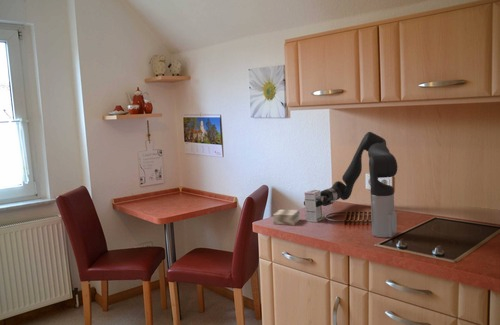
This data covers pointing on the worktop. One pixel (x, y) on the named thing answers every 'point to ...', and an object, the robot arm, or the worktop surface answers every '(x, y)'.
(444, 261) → the worktop surface
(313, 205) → the syrup box
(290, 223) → the ash block
